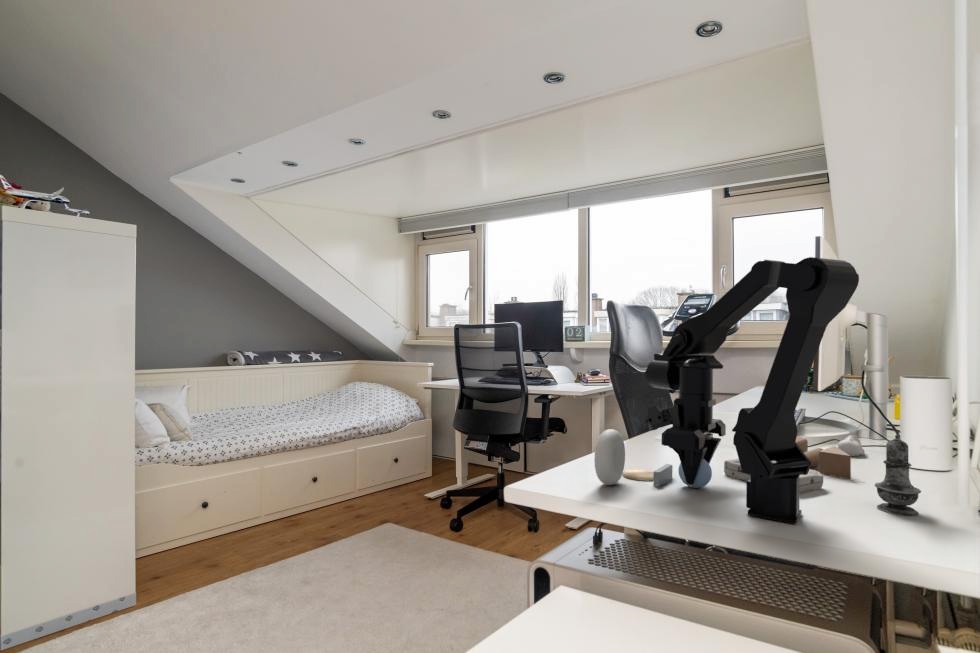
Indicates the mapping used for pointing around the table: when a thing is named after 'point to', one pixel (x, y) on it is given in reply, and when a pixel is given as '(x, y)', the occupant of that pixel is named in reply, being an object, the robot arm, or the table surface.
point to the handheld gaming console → (806, 481)
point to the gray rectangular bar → (662, 475)
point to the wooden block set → (827, 459)
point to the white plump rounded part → (609, 457)
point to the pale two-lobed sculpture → (851, 446)
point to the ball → (698, 475)
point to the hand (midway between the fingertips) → (695, 480)
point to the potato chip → (639, 475)
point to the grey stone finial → (897, 481)
